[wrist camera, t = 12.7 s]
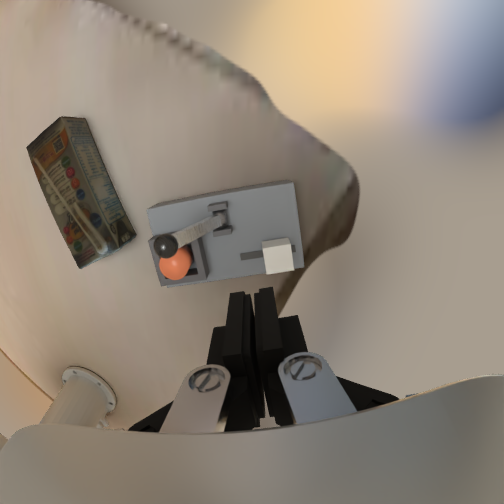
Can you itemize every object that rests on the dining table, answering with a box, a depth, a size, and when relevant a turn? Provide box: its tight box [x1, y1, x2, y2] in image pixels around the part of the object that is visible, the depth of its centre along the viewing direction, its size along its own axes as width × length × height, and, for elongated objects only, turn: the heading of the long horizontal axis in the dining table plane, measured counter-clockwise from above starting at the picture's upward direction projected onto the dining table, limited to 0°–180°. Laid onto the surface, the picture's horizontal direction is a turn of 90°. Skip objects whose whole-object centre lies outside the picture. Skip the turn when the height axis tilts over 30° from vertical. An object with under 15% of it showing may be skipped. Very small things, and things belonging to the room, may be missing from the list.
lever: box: [154, 209, 228, 259], centre depth 28 cm, size 2×2×10 cm
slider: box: [262, 238, 294, 274], centre depth 32 cm, size 3×3×2 cm
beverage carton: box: [26, 116, 136, 269], centre depth 32 cm, size 8×19×7 cm, turn 23°
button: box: [159, 245, 193, 280], centre depth 32 cm, size 3×3×3 cm
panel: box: [147, 180, 304, 288], centre depth 34 cm, size 10×17×6 cm, turn 99°
